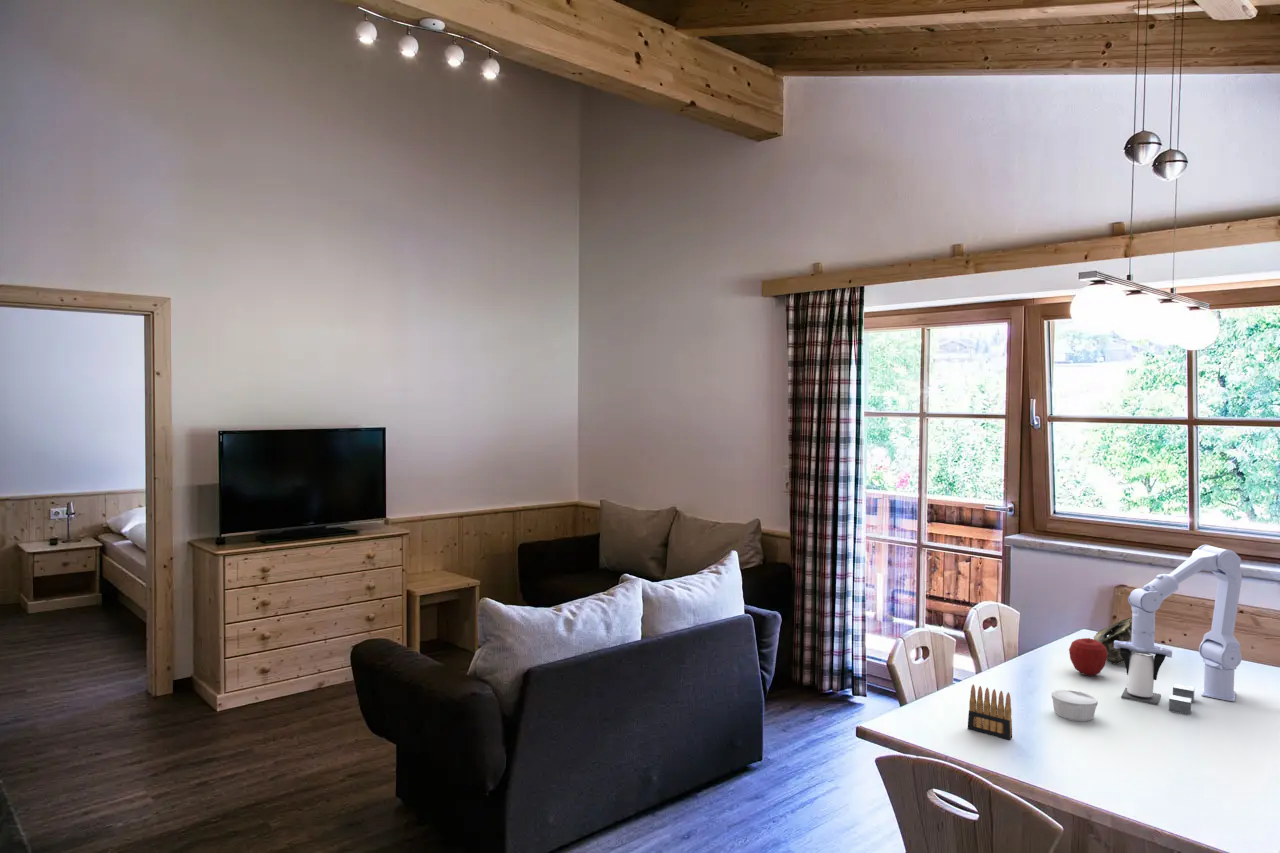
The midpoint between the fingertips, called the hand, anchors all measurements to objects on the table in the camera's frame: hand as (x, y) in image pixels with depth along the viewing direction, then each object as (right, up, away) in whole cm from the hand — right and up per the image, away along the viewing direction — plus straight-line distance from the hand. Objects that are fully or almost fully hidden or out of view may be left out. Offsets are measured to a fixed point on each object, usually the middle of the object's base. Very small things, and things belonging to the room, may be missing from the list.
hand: (1141, 676), depth 243 cm
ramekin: (-27, -7, -14) cm, 32 cm away
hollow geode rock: (+14, -5, +38) cm, 41 cm away
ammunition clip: (-56, -7, -28) cm, 63 cm away
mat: (0, -6, 0) cm, 6 cm away
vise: (+8, -6, -6) cm, 12 cm away
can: (-1, -5, 0) cm, 5 cm away
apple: (-5, -6, +20) cm, 22 cm away
